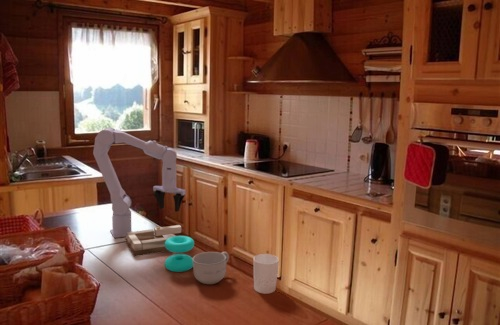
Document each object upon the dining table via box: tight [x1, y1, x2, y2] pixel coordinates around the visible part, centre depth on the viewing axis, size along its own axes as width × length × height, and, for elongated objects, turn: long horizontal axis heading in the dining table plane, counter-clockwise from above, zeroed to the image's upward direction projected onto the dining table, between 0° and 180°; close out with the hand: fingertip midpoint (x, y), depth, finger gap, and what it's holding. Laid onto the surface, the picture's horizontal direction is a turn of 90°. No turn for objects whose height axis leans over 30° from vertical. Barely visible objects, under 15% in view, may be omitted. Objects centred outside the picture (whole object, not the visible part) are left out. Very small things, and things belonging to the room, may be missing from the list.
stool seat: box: [125, 228, 170, 257], centre depth 163 cm, size 14×14×4 cm
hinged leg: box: [153, 224, 182, 236], centre depth 172 cm, size 10×2×3 cm, turn 118°
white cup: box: [252, 253, 280, 295], centre depth 132 cm, size 8×8×10 cm
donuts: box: [164, 235, 195, 273], centre depth 145 cm, size 10×10×10 cm
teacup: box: [192, 251, 230, 285], centre depth 138 cm, size 14×11×8 cm
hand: (169, 209), depth 176 cm, fingers open, 7 cm apart
